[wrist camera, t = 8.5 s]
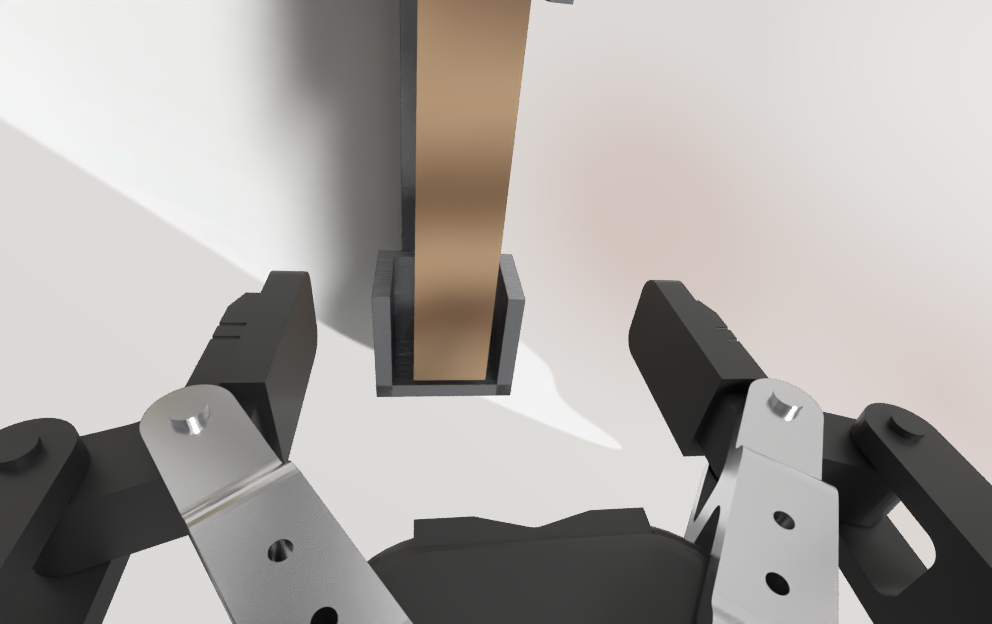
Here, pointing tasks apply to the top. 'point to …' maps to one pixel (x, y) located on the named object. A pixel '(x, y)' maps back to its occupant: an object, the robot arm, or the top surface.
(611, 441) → the top surface
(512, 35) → the rail
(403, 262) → the bracket stand
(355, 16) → the top surface
